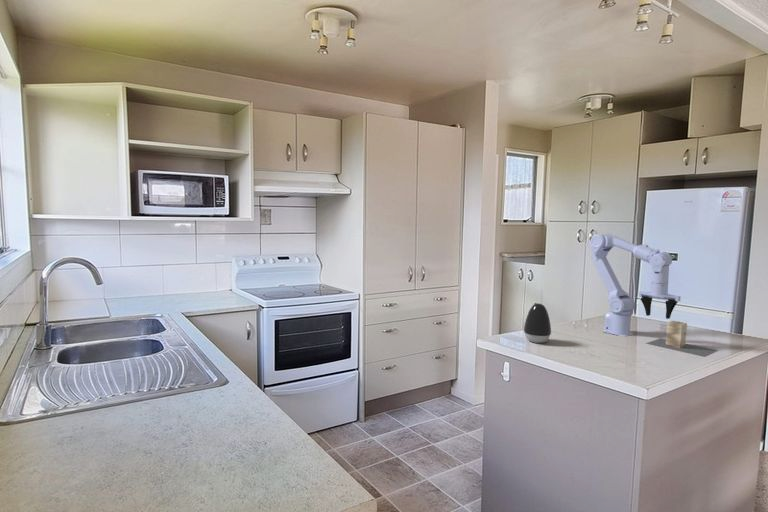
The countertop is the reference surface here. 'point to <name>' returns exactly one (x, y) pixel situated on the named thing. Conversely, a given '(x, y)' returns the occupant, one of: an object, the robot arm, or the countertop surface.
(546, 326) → the black egg shape
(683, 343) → the block
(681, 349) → the mat
